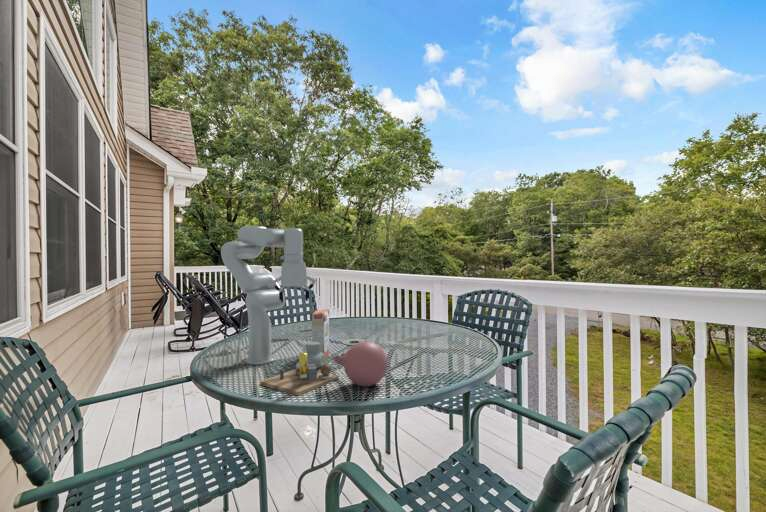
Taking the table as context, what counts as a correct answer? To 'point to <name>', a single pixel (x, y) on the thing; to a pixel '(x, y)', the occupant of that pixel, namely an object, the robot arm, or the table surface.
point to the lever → (302, 365)
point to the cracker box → (321, 329)
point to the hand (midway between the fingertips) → (294, 301)
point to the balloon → (363, 363)
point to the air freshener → (315, 354)
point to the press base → (299, 380)
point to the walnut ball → (325, 369)
